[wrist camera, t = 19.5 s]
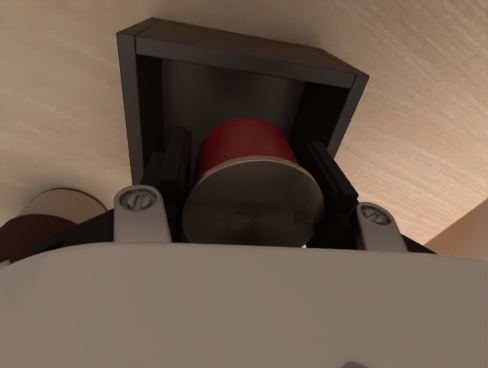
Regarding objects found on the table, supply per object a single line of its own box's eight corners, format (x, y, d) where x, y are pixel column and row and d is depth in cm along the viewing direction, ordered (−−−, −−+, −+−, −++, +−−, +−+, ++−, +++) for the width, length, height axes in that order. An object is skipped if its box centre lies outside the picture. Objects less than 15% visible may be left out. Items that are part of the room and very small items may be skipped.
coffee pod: (192, 101, 10) (183, 151, 7) (310, 117, 11) (348, 168, 8) (187, 197, 13) (179, 263, 10) (281, 204, 14) (300, 266, 11)
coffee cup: (118, 250, 31) (59, 409, 20) (24, 235, 29) (-113, 410, 17) (128, 189, 26) (54, 357, 14) (12, 164, 23) (-200, 346, 11)
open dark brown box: (151, 17, 18) (115, 32, 11) (322, 48, 20) (370, 76, 14) (157, 185, 26) (138, 246, 20) (276, 195, 28) (293, 253, 22)
